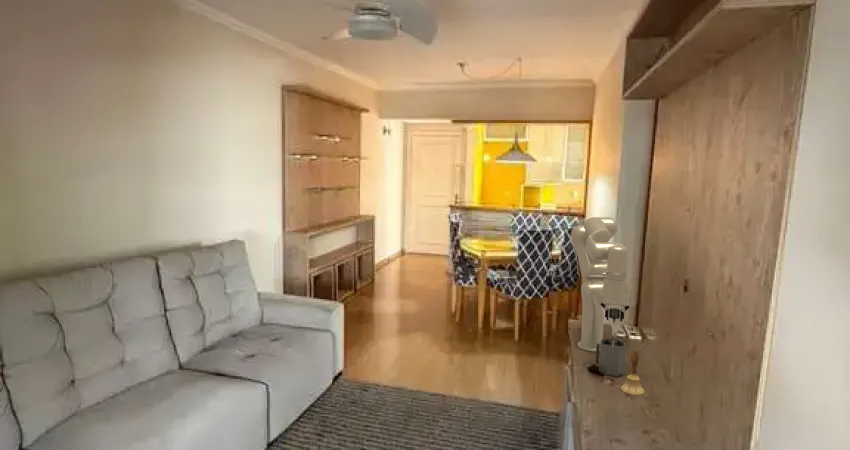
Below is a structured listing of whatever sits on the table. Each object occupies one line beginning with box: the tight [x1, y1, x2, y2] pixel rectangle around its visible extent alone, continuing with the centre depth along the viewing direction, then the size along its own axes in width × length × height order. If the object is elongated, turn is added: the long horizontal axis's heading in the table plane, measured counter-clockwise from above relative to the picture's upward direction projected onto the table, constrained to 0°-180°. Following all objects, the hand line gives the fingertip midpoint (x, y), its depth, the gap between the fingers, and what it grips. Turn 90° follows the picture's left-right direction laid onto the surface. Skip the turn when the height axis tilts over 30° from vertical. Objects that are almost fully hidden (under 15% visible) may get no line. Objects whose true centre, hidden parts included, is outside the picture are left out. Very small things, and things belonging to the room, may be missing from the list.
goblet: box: [605, 307, 621, 347], centre depth 203 cm, size 7×7×16 cm
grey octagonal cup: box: [595, 338, 627, 378], centre depth 205 cm, size 10×11×12 cm
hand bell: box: [620, 349, 645, 396], centre depth 188 cm, size 8×8×16 cm
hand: (614, 319), depth 203 cm, fingers open, 4 cm apart
